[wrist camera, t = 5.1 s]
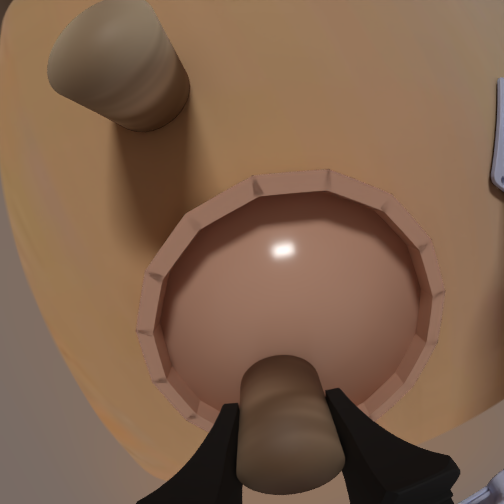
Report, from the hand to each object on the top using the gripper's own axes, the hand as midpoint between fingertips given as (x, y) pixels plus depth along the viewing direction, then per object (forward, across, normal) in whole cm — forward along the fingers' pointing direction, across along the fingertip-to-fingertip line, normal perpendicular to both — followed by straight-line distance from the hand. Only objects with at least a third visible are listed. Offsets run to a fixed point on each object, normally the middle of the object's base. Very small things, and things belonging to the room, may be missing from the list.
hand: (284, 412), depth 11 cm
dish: (+3, -1, -3) cm, 4 cm away
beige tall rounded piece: (+3, +4, -15) cm, 16 cm away
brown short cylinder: (+2, 0, 0) cm, 2 cm away
